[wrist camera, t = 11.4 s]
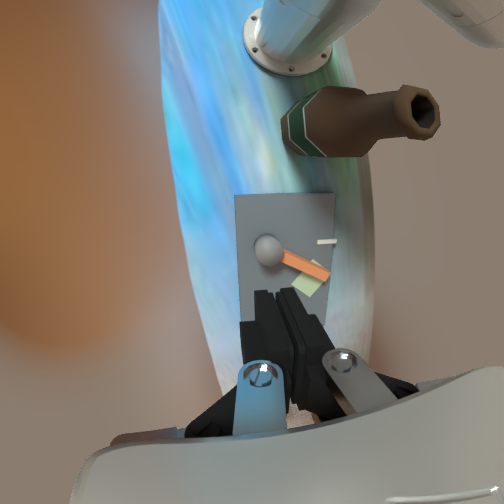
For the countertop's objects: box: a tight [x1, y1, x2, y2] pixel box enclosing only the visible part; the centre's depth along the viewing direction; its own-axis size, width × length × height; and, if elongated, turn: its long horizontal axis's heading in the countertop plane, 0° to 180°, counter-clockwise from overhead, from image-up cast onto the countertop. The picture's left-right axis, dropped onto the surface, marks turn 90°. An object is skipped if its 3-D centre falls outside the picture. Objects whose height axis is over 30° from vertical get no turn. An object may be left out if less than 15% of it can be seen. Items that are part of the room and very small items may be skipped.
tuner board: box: [234, 192, 337, 325], centre depth 41 cm, size 22×14×1 cm, turn 2°
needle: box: [253, 234, 330, 282], centre depth 38 cm, size 12×4×3 cm, turn 63°
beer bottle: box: [281, 85, 441, 157], centre depth 23 cm, size 8×8×24 cm
